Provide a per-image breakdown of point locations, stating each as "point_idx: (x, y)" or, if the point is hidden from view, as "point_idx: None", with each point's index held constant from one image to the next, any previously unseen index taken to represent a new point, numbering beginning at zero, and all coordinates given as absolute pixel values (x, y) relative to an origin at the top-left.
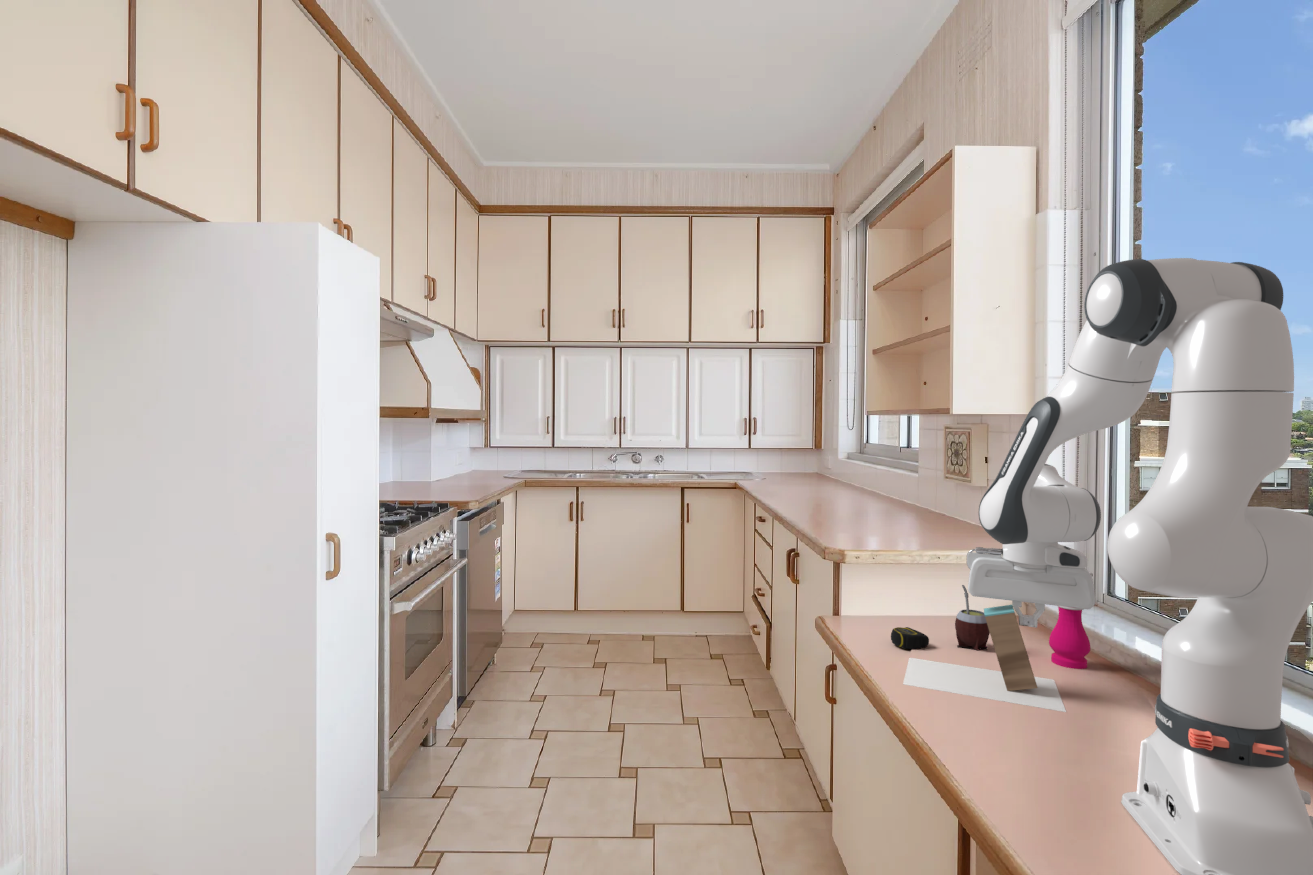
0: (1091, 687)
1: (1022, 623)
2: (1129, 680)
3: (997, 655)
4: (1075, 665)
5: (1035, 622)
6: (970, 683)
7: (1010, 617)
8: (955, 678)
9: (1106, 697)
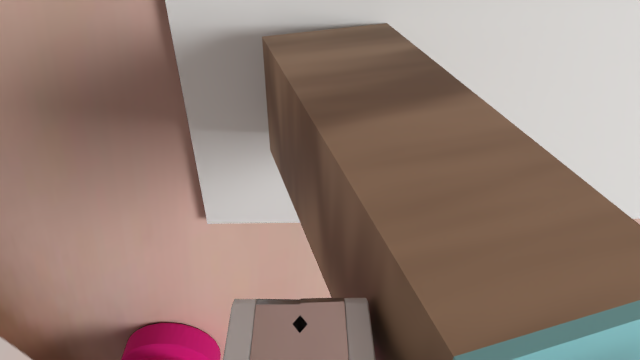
0: (95, 223)
1: (344, 308)
2: (12, 315)
3: (474, 96)
4: (150, 337)
5: (243, 328)
6: (533, 42)
7: (477, 302)
8: (585, 73)
9: (36, 157)
